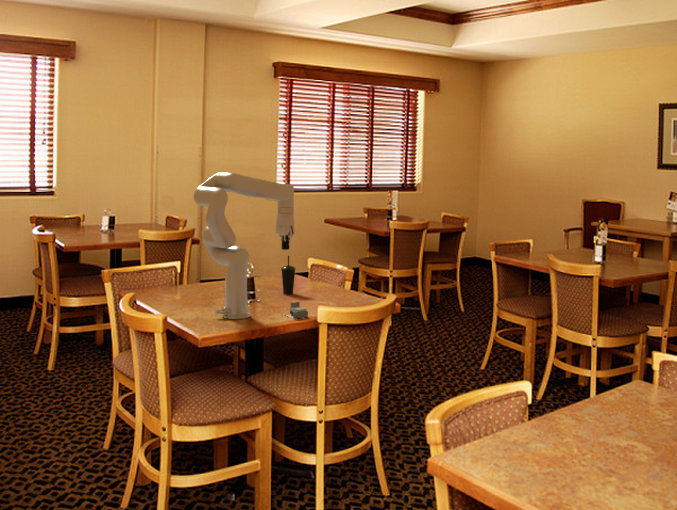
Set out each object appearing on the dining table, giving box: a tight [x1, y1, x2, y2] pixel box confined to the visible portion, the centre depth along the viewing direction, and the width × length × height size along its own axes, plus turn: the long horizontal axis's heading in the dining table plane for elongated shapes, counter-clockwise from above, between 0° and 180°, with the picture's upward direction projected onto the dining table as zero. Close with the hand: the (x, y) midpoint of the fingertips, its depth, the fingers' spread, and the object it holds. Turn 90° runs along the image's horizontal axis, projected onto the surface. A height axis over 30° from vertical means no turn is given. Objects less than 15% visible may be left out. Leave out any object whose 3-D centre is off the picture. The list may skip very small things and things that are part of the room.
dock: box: [285, 310, 309, 320], centre depth 310 cm, size 7×10×3 cm
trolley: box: [289, 301, 308, 315], centre depth 310 cm, size 7×6×6 cm
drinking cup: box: [280, 255, 297, 295], centre depth 356 cm, size 8×8×20 cm
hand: (285, 249), depth 327 cm, fingers closed
